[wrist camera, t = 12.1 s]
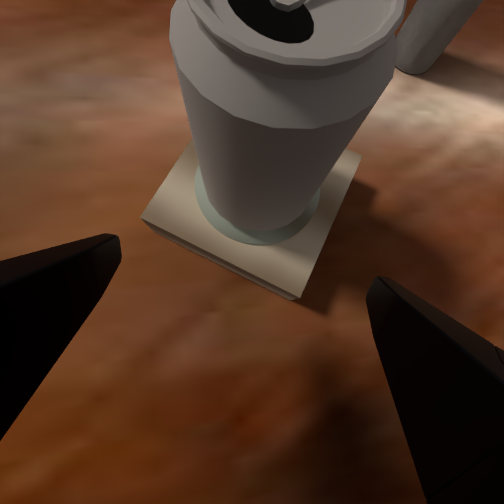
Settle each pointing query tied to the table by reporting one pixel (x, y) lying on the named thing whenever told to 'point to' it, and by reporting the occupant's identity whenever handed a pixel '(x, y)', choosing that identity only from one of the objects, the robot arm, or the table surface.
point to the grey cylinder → (430, 32)
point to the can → (278, 94)
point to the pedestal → (243, 240)
